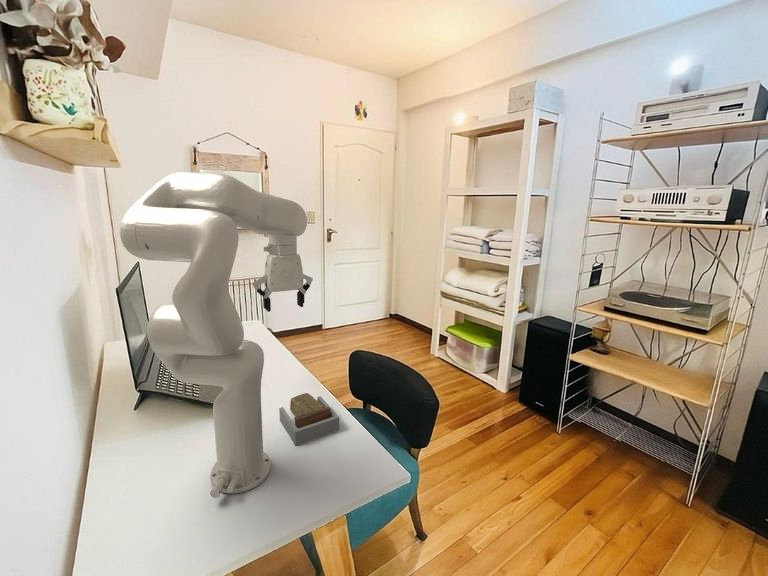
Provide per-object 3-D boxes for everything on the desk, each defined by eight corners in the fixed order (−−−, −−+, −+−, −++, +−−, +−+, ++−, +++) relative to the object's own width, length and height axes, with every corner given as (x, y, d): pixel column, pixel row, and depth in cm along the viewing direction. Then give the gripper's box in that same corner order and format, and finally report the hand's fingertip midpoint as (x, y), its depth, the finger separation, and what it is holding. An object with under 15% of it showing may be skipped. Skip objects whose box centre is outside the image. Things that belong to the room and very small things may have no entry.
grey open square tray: (339, 430, 96) (339, 417, 95) (295, 446, 89) (295, 432, 88) (320, 408, 106) (320, 395, 105) (279, 420, 99) (279, 407, 98)
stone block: (310, 431, 96) (310, 415, 94) (288, 412, 103) (288, 396, 102) (328, 423, 99) (328, 407, 98) (306, 405, 107) (305, 390, 106)
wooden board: (330, 424, 98) (330, 408, 96) (296, 436, 92) (296, 419, 91) (328, 422, 99) (328, 406, 97) (294, 434, 93) (294, 417, 92)
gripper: (255, 253, 93) (257, 316, 97) (317, 250, 102) (317, 307, 107) (247, 249, 99) (250, 308, 103) (307, 246, 108) (307, 301, 113)
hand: (284, 308), depth 105 cm, fingers open, 9 cm apart
